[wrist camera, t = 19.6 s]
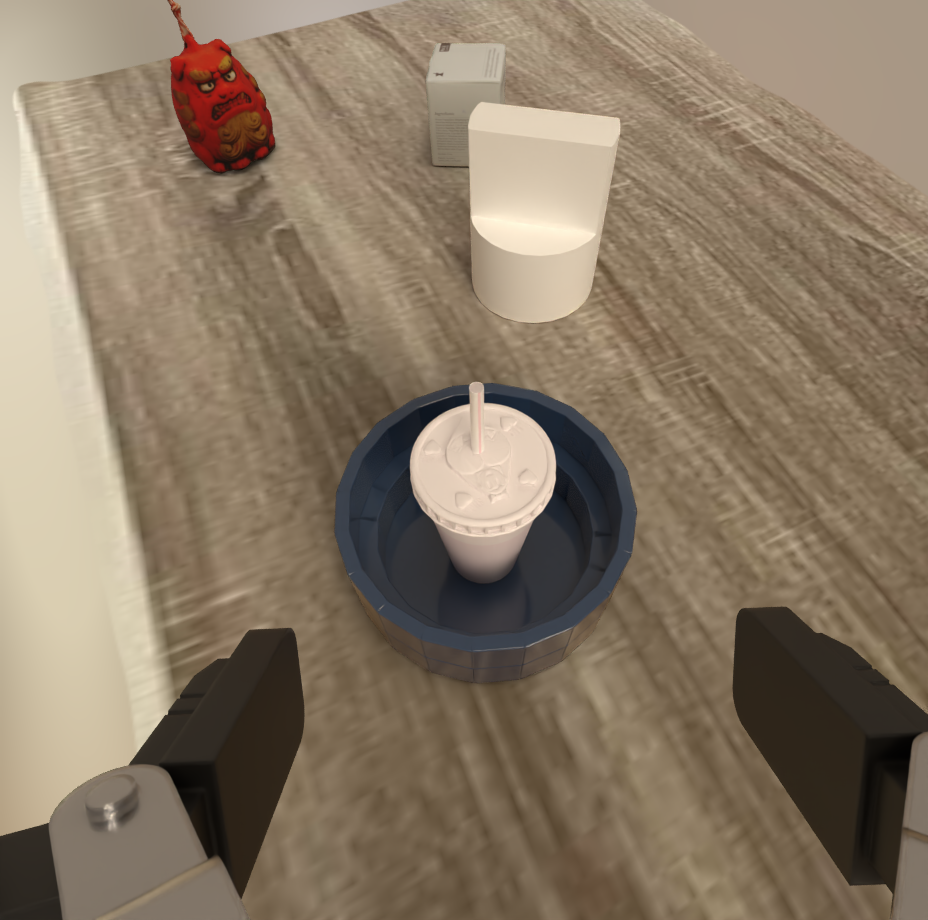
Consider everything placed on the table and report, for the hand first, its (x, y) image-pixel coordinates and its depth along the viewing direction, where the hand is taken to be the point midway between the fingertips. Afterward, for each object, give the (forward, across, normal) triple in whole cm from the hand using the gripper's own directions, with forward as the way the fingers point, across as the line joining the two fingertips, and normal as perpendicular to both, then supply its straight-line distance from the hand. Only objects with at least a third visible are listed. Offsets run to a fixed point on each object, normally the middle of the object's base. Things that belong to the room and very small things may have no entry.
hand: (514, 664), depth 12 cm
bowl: (+24, 0, +7) cm, 25 cm away
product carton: (+52, 0, -20) cm, 56 cm away
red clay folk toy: (+52, +20, -21) cm, 60 cm away
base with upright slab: (+40, -5, -8) cm, 41 cm away
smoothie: (+23, 0, +7) cm, 24 cm away
